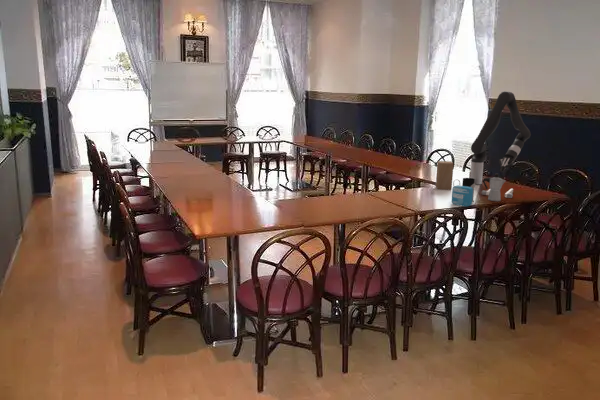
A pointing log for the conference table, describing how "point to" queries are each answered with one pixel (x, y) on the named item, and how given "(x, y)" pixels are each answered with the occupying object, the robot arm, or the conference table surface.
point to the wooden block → (444, 175)
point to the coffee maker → (494, 187)
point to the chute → (507, 194)
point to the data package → (462, 195)
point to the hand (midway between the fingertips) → (501, 171)
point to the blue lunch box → (468, 184)
